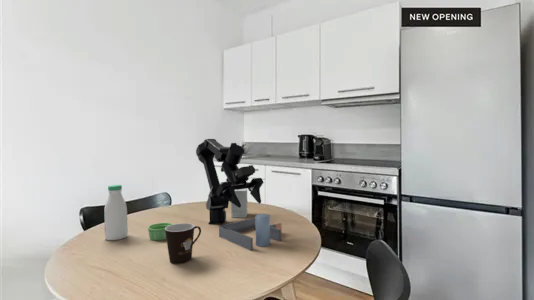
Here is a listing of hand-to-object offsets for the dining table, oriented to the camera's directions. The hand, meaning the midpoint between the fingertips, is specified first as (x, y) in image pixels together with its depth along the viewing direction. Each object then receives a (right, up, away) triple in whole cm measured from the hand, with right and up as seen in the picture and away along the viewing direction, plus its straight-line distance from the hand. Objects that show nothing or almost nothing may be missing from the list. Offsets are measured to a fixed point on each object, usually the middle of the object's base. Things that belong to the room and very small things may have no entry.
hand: (250, 204), depth 105 cm
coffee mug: (-19, -14, -16) cm, 29 cm away
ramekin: (-35, -13, +5) cm, 37 cm away
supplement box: (-7, -12, +35) cm, 38 cm away
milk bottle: (-52, -14, +5) cm, 54 cm away
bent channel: (+2, -13, +3) cm, 13 cm away
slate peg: (+5, -13, -5) cm, 14 cm away
